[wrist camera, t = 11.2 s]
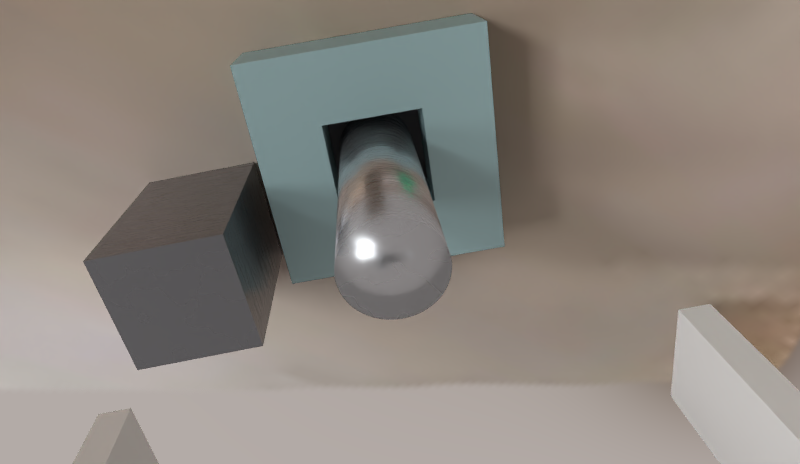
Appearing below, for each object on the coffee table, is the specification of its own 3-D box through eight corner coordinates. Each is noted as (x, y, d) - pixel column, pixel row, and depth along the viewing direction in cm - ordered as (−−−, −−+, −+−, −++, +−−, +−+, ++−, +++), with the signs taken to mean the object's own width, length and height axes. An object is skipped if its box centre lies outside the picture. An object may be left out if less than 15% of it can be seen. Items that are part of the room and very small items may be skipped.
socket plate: (297, 253, 35) (292, 283, 31) (242, 53, 29) (229, 65, 26) (490, 219, 35) (504, 246, 32) (472, 13, 29) (486, 21, 26)
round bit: (348, 183, 33) (347, 328, 20) (333, 116, 31) (322, 228, 18) (416, 171, 33) (457, 308, 20) (406, 103, 31) (444, 207, 18)
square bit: (186, 272, 35) (137, 370, 27) (149, 182, 32) (83, 261, 24) (282, 253, 35) (263, 345, 27) (254, 162, 32) (222, 234, 24)
